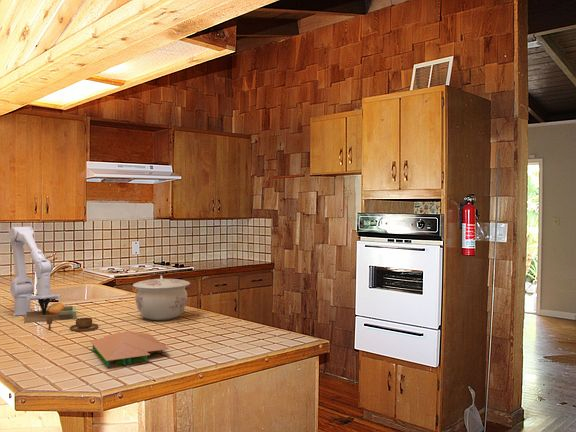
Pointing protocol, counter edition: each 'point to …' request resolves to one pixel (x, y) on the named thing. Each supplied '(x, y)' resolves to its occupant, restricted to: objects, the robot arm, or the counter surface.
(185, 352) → the counter surface
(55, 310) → the fruit
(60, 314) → the chute
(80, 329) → the place setting
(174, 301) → the chamber pot
